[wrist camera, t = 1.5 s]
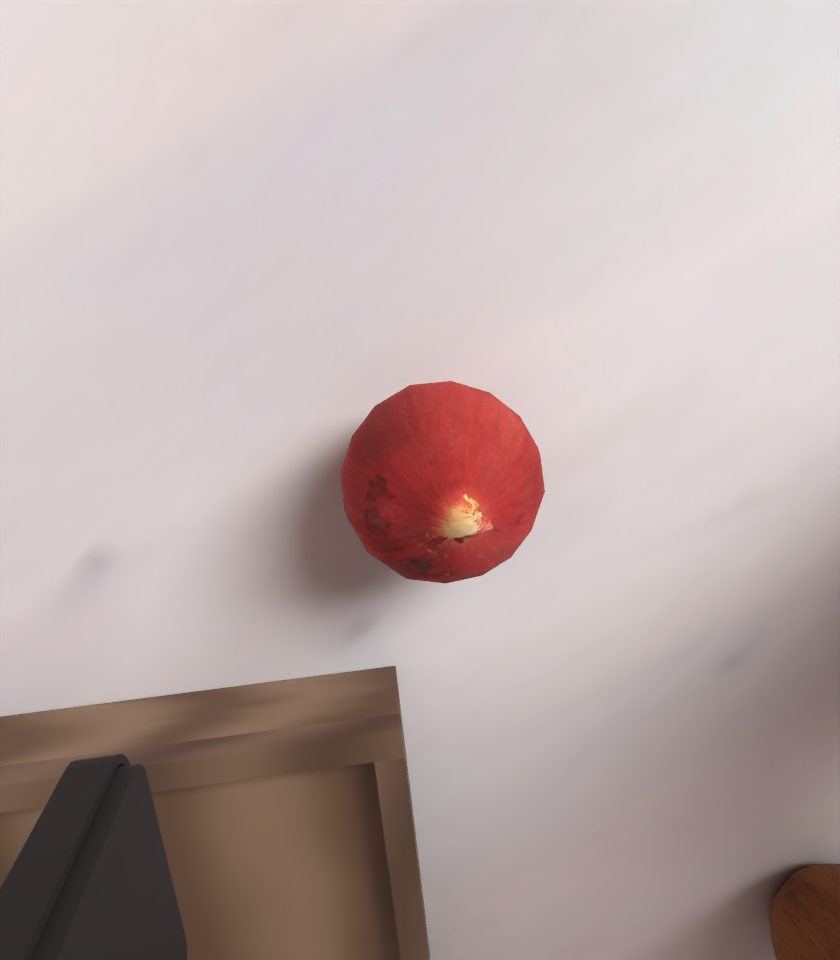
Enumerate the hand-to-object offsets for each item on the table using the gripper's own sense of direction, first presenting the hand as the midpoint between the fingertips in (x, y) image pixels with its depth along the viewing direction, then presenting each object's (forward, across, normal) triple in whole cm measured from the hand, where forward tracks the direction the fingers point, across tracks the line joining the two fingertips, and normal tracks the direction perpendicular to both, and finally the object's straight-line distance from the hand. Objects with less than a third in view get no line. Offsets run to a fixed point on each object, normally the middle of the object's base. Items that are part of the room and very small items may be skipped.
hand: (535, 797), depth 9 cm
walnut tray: (+17, +10, +16) cm, 25 cm away
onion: (+17, 0, 0) cm, 17 cm away
